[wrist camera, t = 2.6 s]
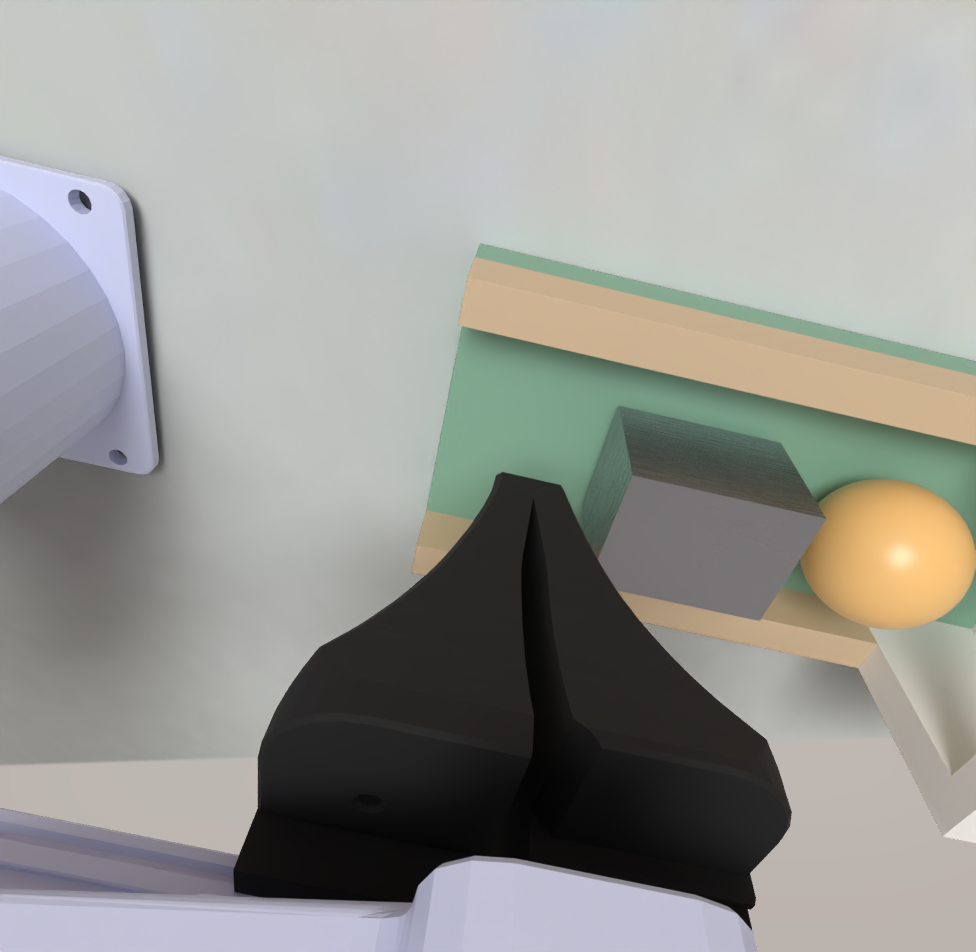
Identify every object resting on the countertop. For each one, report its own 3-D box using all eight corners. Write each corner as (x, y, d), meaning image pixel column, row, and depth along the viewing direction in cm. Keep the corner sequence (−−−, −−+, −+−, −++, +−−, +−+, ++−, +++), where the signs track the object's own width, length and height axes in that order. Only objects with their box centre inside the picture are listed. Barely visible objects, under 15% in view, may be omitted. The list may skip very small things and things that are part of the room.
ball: (757, 545, 17) (799, 644, 14) (821, 436, 15) (885, 525, 12) (879, 572, 17) (946, 675, 14) (958, 468, 15) (1053, 563, 12)
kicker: (582, 504, 16) (587, 584, 14) (618, 405, 15) (632, 475, 12) (728, 537, 17) (759, 621, 14) (780, 442, 15) (826, 518, 12)
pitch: (427, 512, 19) (371, 720, 13) (480, 243, 14) (430, 372, 9) (959, 628, 20) (1137, 876, 14) (1163, 406, 15) (1560, 629, 9)
